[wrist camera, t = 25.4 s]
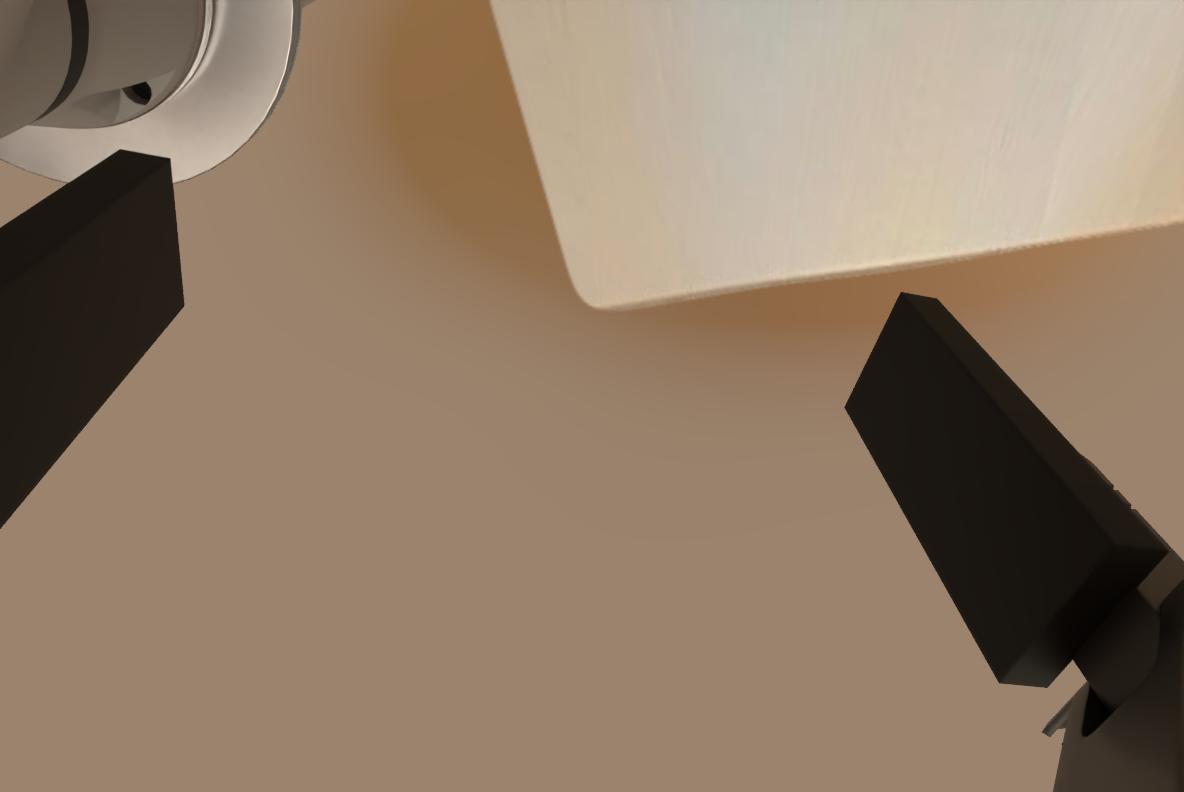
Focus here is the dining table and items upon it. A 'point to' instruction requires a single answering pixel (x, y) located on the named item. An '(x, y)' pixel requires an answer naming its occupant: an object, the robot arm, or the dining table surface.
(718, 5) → the dining table surface
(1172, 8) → the dining table surface
